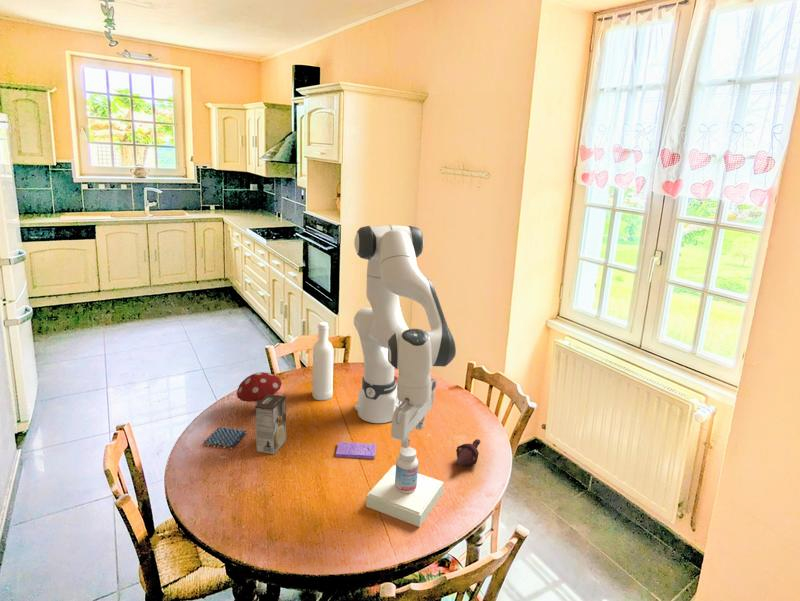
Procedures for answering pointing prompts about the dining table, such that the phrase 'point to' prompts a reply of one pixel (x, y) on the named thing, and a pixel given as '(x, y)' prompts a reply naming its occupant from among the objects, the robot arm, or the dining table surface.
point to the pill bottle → (406, 470)
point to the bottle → (322, 365)
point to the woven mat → (225, 438)
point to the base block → (405, 498)
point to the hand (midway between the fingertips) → (412, 437)
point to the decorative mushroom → (258, 387)
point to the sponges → (356, 450)
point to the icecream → (467, 453)
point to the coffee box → (270, 423)
